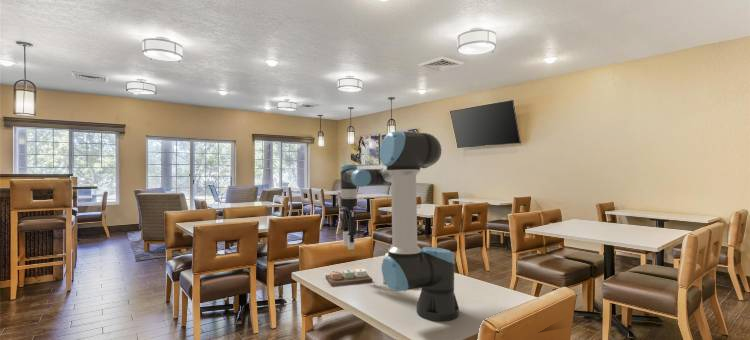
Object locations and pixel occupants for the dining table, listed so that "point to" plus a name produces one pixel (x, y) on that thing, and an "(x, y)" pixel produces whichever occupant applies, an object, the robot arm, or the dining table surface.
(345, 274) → the tile
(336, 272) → the tile
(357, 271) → the tile
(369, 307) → the dining table surface
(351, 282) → the board
